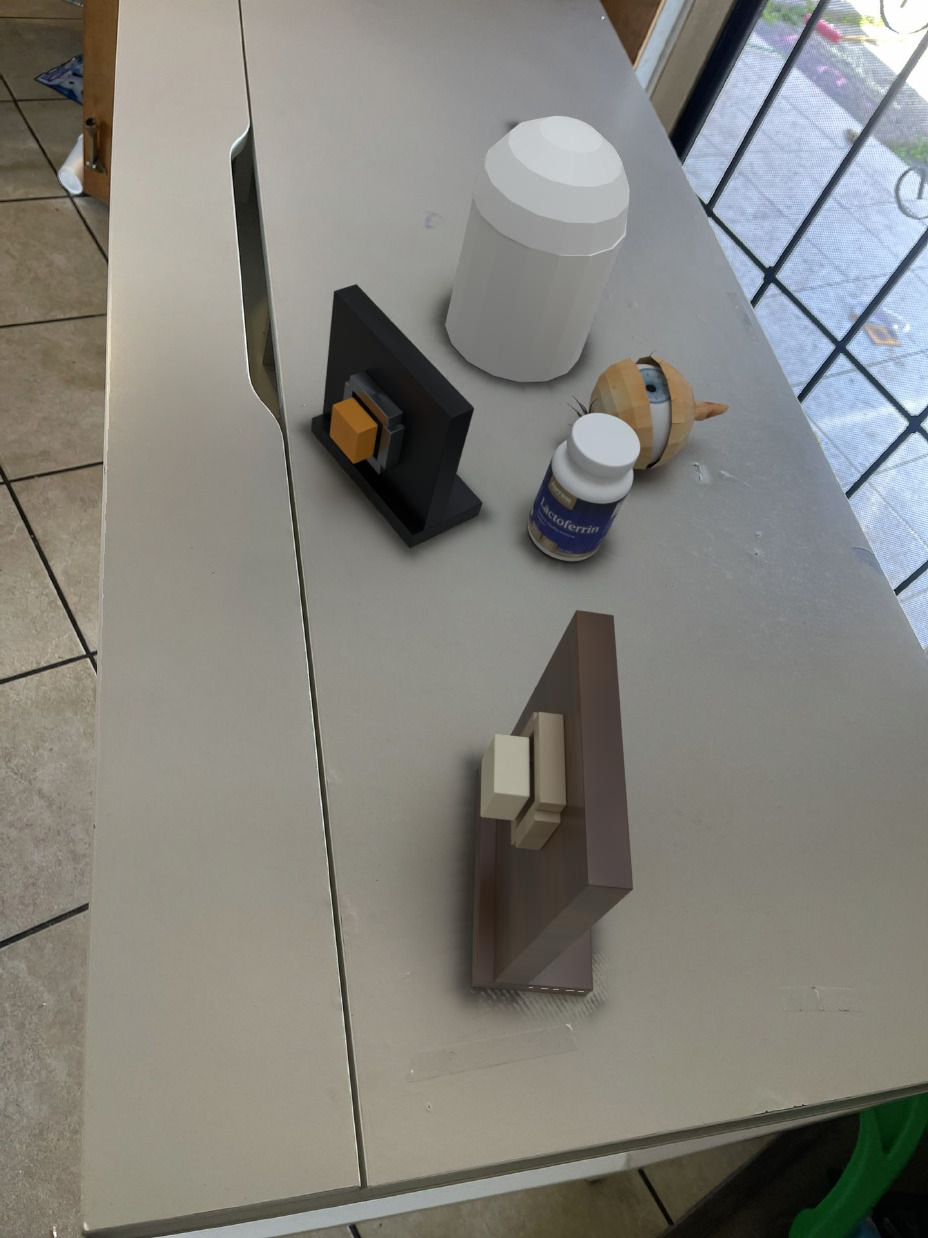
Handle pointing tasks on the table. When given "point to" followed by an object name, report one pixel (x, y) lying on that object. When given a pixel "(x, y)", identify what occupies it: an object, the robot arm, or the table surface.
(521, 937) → the brown button panel
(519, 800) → the button near
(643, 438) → the sculpture
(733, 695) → the table surface
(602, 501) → the pill bottle
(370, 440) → the button far
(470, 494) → the black button panel
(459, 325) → the container
